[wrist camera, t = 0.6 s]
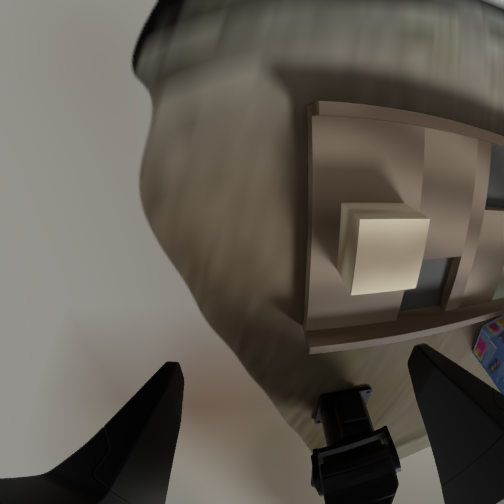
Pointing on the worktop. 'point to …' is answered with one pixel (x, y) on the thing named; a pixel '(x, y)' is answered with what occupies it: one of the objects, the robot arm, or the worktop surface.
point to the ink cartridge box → (492, 350)
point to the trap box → (419, 198)
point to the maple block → (380, 246)
